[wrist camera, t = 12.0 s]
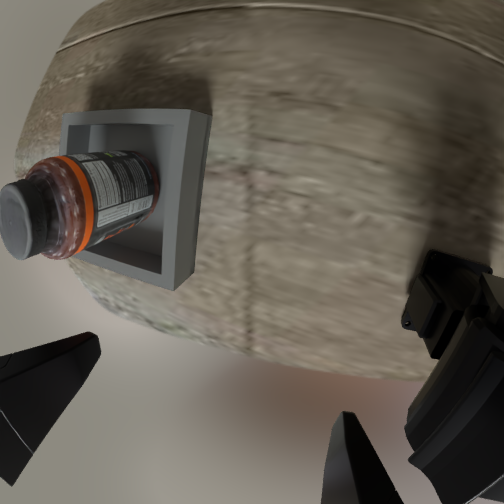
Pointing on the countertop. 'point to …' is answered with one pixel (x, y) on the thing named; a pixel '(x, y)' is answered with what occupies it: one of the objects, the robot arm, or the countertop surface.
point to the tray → (170, 187)
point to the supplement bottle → (76, 202)
